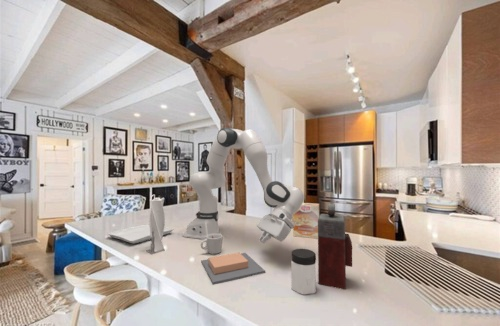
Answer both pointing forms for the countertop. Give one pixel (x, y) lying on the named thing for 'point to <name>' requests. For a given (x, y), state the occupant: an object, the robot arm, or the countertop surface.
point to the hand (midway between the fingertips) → (261, 241)
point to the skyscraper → (156, 225)
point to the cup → (213, 243)
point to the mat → (234, 271)
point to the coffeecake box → (306, 221)
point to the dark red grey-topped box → (333, 249)
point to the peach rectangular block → (227, 263)
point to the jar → (303, 271)
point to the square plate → (136, 233)
